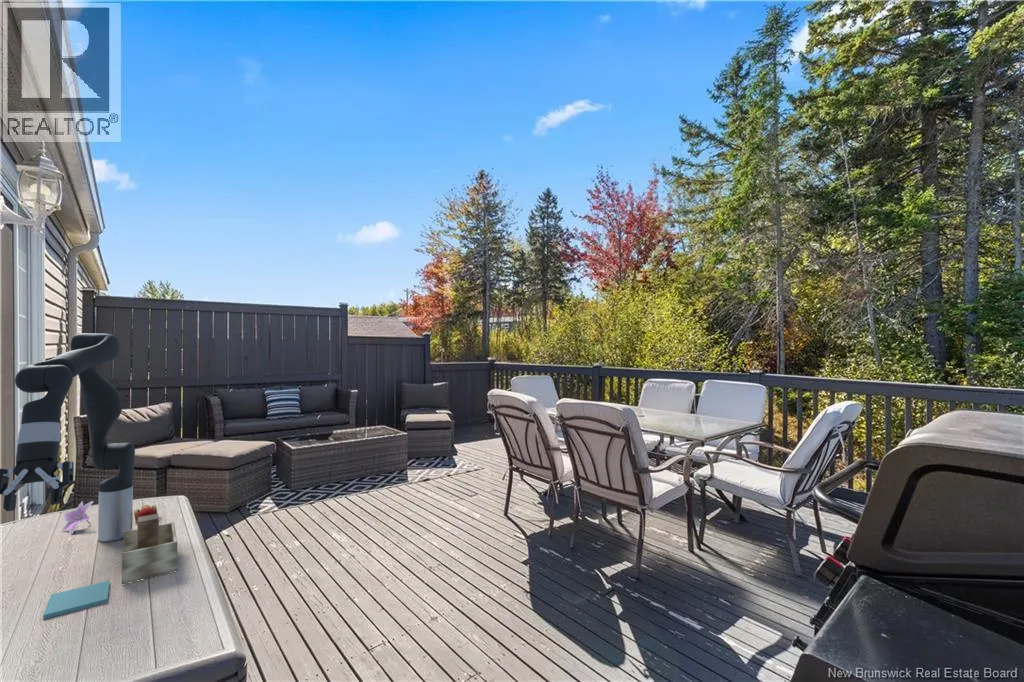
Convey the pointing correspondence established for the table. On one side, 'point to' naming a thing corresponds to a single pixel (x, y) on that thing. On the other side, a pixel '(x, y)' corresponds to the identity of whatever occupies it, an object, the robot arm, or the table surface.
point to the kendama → (145, 511)
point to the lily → (76, 517)
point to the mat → (77, 599)
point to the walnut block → (148, 531)
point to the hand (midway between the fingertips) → (32, 507)
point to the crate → (149, 555)
